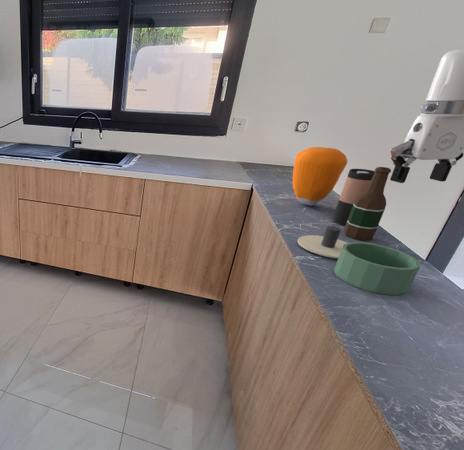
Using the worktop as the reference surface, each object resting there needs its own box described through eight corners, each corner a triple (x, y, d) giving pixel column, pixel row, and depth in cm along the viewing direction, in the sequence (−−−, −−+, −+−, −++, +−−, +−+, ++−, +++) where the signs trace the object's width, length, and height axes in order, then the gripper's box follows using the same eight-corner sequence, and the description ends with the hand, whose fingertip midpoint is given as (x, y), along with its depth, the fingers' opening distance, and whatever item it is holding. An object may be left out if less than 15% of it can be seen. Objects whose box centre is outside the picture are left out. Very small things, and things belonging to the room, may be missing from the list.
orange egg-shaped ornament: (278, 197, 147) (293, 143, 137) (321, 200, 142) (339, 144, 132) (290, 209, 132) (307, 150, 122) (338, 213, 127) (360, 151, 117)
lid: (331, 237, 107) (338, 218, 104) (373, 260, 92) (382, 238, 90) (286, 238, 107) (291, 219, 104) (320, 261, 93) (327, 239, 90)
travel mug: (355, 220, 119) (374, 169, 111) (360, 228, 113) (381, 174, 105) (330, 217, 123) (347, 167, 115) (333, 224, 117) (351, 172, 109)
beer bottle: (345, 229, 112) (370, 164, 103) (374, 236, 107) (403, 167, 97) (339, 235, 108) (364, 167, 98) (369, 243, 102) (398, 172, 93)
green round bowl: (371, 264, 90) (381, 241, 87) (424, 294, 77) (438, 268, 74) (321, 265, 91) (329, 242, 88) (365, 295, 77) (376, 269, 74)
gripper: (424, 111, 69) (395, 186, 75) (506, 107, 68) (470, 183, 74) (391, 110, 75) (368, 178, 82) (466, 106, 75) (436, 176, 81)
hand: (416, 180), depth 78 cm, fingers open, 9 cm apart
